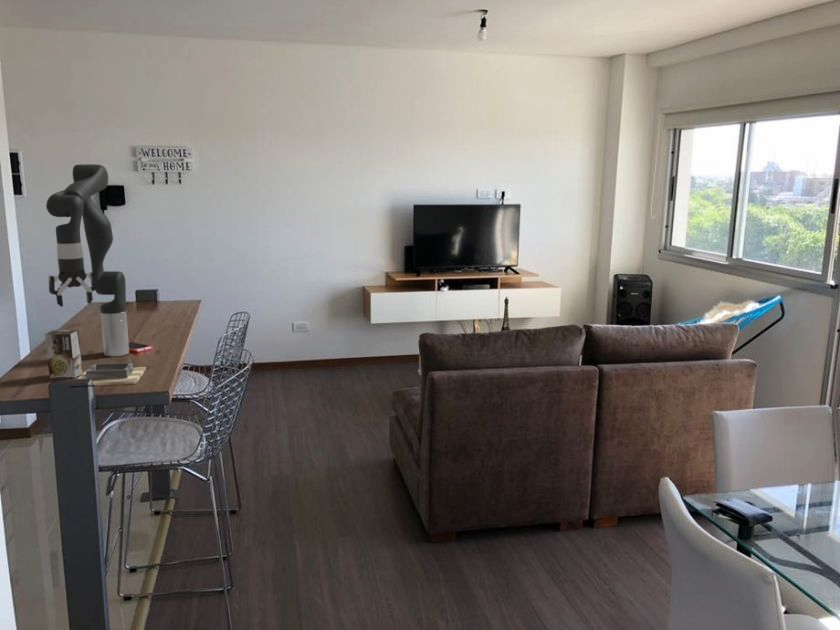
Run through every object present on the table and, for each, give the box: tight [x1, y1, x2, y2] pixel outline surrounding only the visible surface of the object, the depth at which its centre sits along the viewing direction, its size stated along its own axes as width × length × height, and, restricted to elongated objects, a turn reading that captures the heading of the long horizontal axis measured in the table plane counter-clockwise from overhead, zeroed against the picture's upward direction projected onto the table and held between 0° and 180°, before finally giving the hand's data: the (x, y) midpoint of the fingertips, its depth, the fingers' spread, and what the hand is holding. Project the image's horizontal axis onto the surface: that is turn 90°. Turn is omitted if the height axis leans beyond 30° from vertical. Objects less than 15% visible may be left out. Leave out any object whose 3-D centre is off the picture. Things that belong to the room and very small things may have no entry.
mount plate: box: [77, 362, 147, 387], centre depth 236 cm, size 18×20×4 cm
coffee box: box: [44, 329, 84, 379], centre depth 236 cm, size 9×6×16 cm
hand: (75, 304), depth 224 cm, fingers open, 8 cm apart
